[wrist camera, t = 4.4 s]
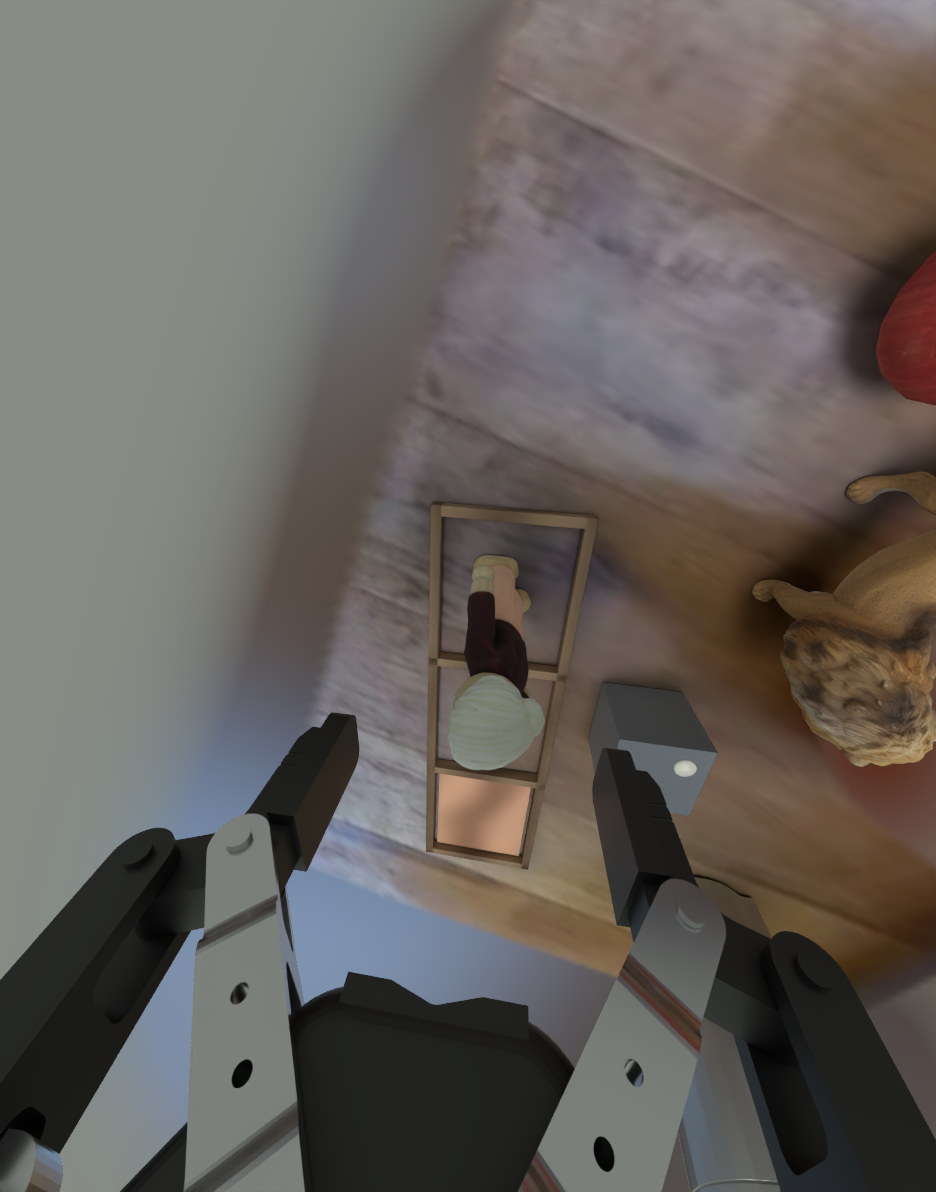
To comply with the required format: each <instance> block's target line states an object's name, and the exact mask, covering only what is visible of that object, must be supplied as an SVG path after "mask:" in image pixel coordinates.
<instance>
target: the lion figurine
mask: <svg viewBox="0 0 936 1192" xmlns="http://www.w3.org/2000/svg"><path fill="white" fill-rule="evenodd" d="M888 491H903V492H906V493H908V494H910V495H911V496H912V497H913V498H914V499H915V500H916V501H917V502H918V503H919V504H920V505H921V506H922V507H923V508H924V509H925V510H927V511H929V512H931V513H933V514H935V515H936V477H934V476H933V475H931V474H929V473H927V472H912V473H907V474H900V475H891V476H870V477H865V478H862V479H860V480H857V481H855V482H854V483H852V484H851V485H850V486H849V487H848V489H847V492H846V496H847V498H849V499H850V500H851V501H852V502H855V503H858V504H863V503H867V502H869V501H871V500H872V499H874V498H875V497H877V496H878V495H880V494H881V493H884V492H888ZM752 593H753V595H754V597H755V598H756V599H758V600H761V601H763V602H767V601H769V600H770V599H772V598H775V599H776V600H777V602H778V603H779V604H780V606H781V607H782V608H783V609H784V610H785V611H786V612H787V613H788V614H789V615H790V616H792V617H793V618H794V619H795V620H796V621H795V622H794V623H792V624H791V625H790V628H789V630H787V631H786V634H784V636H783V639H784V644H785V645H784V649H783V650H782V651H781V653H780V658H781V661H782V663H783V667H784V669H785V672H786V676H787V677H788V679H789V681H790V684H791V693H792V697H793V699H794V700H795V702H796V703H797V705H798V706H799V707H800V708H801V710H802V715H803V717H804V719H805V721H806V723H807V724H808V725H809V727H810V729H811V731H812V732H813V733H815V734H817V735H818V736H820V737H822V738H824V739H826V740H828V741H830V742H832V743H833V744H835V746H836V747H837V748H838V749H840V750H842V753H843V755H845V756H846V757H847V758H848V759H849V761H850V762H851V763H853V764H854V765H856V766H860V767H863V766H865V765H867V764H869V763H874V764H877V765H880V766H886V765H889V764H891V763H900V764H904V763H907V762H913V763H914V762H917V761H919V760H921V759H922V758H923V757H924V754H925V753H927V752H928V751H930V750H931V749H933V742H935V741H936V711H935V710H933V709H932V708H931V706H932V699H931V697H930V693H929V692H930V691H931V690H932V688H933V680H934V679H935V677H936V668H935V665H934V663H933V662H932V661H931V660H930V654H931V650H932V646H933V644H934V642H935V641H936V528H935V529H933V530H932V531H930V532H927V533H924V534H921V535H918V536H914V537H912V538H909V539H907V540H904V541H901V542H899V543H897V544H894V545H892V546H889V547H887V548H884V549H882V550H880V551H879V552H877V553H876V554H874V555H873V556H871V557H869V558H868V559H866V560H865V561H863V562H862V563H861V564H860V565H858V566H857V567H856V568H855V569H853V570H852V571H851V572H850V573H849V574H848V575H847V576H846V578H845V579H844V580H843V581H842V582H841V583H840V584H839V586H838V587H837V588H836V589H835V591H834V592H833V594H829V593H827V592H823V593H822V592H819V591H813V592H807V591H804V590H801V589H799V588H797V587H794V586H792V585H790V584H789V583H787V582H783V581H778V580H763V581H760V582H758V583H756V584H755V585H754V586H753V590H752Z"/></svg>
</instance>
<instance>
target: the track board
mask: <svg viewBox="0 0 936 1192" xmlns="http://www.w3.org/2000/svg"><path fill="white" fill-rule="evenodd" d="M444 517H453V518H464V519H476V520H487V521H499V522H510V523H522V524H533V525H544V526H556V527H567V528H579V529H582V533H581V538H580V544H579V549H578V554H577V560H576V565H575V571H574V576H573V581H572V587H571V592H570V598H569V603H568V608H567V614H566V619H565V625H564V630H563V635H562V641H561V646H560V651H559V657H558V662H557V666H551V665H543V664H535V663H528V670H529V671H528V678H536V679H544V680H551V681H554V684H553V689H552V695H551V700H550V705H549V711H548V716H547V721H546V727H545V732H544V738H543V743H542V748H541V754H540V759H539V765H538V770H537V774H533V773H527V772H520V771H514V770H507V769H501V768H498V769H493V770H472V769H468V768H466V767H463V766H461V765H460V764H459V763H457V762H454V761H448V760H441V759H437V741H438V706H439V670H440V666H441V667H449V668H457V669H465V670H469V669H468V666H467V663H466V660H465V656H464V655H462V654H453V653H445V652H440V635H441V600H442V564H443V529H444ZM598 520H599V519H598V517H597V516H596V515H585V514H573V513H561V512H549V511H537V510H525V509H513V508H501V507H489V506H477V505H465V504H453V503H441V502H433V503H432V504H431V519H430V594H429V668H428V743H427V817H426V852H432V853H437V854H443V855H449V856H454V857H460V858H466V859H471V860H477V861H483V862H488V863H494V864H500V865H505V866H511V867H517V868H522V869H528V867H529V862H530V857H531V852H532V847H533V842H534V837H535V832H536V827H537V822H538V817H539V812H540V807H541V802H542V797H543V792H544V787H545V782H546V777H547V773H548V768H549V763H550V758H551V753H552V748H553V743H554V738H555V733H556V728H557V723H558V718H559V713H560V708H561V703H562V698H563V693H564V688H565V683H566V678H567V674H568V669H569V664H570V659H571V654H572V649H573V644H574V639H575V634H576V629H577V624H578V619H579V614H580V609H581V604H582V599H583V594H584V589H585V584H586V579H587V575H588V570H589V565H590V560H591V555H592V550H593V545H594V540H595V535H596V530H597V525H598ZM437 773H440V777H439V807H438V837H437V840H435V812H436V776H437ZM531 788H534V792H533V797H532V802H531V808H530V813H529V818H528V824H527V829H526V835H525V840H524V845H523V851H522V854H519V851H520V845H521V840H522V834H523V829H524V823H525V818H526V812H527V807H528V801H529V796H530V790H531Z"/></svg>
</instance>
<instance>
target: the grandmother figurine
mask: <svg viewBox="0 0 936 1192" xmlns="http://www.w3.org/2000/svg"><path fill="white" fill-rule="evenodd" d="M518 574H519V567H518V563H517V562H516V561H515V560H514V559H513V558H511V557H504V556H495V555H483V556H480V557H478V558H477V559H476V560H475V562H474V564H473V573H472V580H473V583H472V585H471V592H470V596H469V599H468V608H467V611H468V630H467V635H466V645H465V651H464V656H465V660H466V663H467V666H468V669H469V673H470V676H471V677H470V678H469V679H467V680H466V681H465V682H464V683H463V684H462V685H461V686H460V688H459V689H458V691H457V693H456V696H455V699H454V703H453V710H452V712H451V713H450V716H449V727H448V741H449V745H450V747H451V753H452V757H453V759H454V760H455V761H456V762H457V763H459V764H460V765H461V766H463V767H466V768H468V769H472V770H493V769H498V768H501V767H504V766H506V765H507V764H509V763H510V762H512V761H514V760H516V759H517V758H518V757H519V756H520V755H521V754H522V753H524V752H525V751H526V750H527V749H528V748H529V747H530V745H531V743H532V741H533V739H534V738H535V737H536V736H537V735H539V734H540V733H541V730H542V728H543V727H544V724H545V718H544V715H543V711H542V708H541V706H540V704H539V703H538V702H537V701H535V700H534V699H533V696H532V693H531V692H530V691H529V690H528V689H526V688H525V686H526V682H527V678H528V671H529V670H528V661H527V655H526V646H525V642H524V641H523V632H522V617H523V613H524V612H526V611H527V610H528V609H529V608H530V606H531V600H530V597H529V595H528V593H527V592H526V591H524V590H522V589H515V579H516V578H517V577H518Z"/></svg>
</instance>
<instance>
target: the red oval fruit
mask: <svg viewBox="0 0 936 1192" xmlns="http://www.w3.org/2000/svg"><path fill="white" fill-rule="evenodd" d="M876 355H877V360H878V364H879V368H880V373H881V374H882V376H883V377H884V378H885V379H886V380H887V381H888V382H889V383H890V384H891V385H892V386H893V387H894V388H895V389H896V390H897V391H898V392H899V393H900V394H901V395H903V396H904V397H905V398H906V399H910V400H914V401H918V402H923V403H927V404H932V405H936V250H935V251H934V252H933V253H932V254H931V255H930V256H929V257H928V259H927V260H926V261H925V262H924V263H923V264H922V265H921V266H920V267H919V269H918V270H917V271H916V272H915V273H914V274H913V275H912V276H911V277H910V279H909V280H908V281H907V282H906V283H905V284H904V286H903V287H902V289H901V290H900V292H899V293H898V294H897V296H896V298H895V300H894V302H893V303H892V305H891V307H890V309H889V311H888V313H887V314H886V316H885V318H884V320H883V322H882V324H881V328H880V332H879V337H878V342H877V346H876Z"/></svg>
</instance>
